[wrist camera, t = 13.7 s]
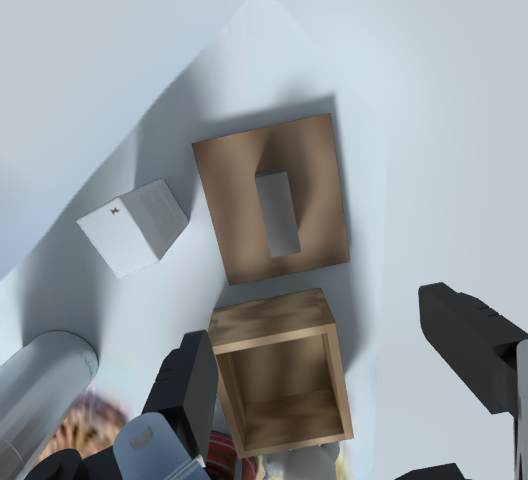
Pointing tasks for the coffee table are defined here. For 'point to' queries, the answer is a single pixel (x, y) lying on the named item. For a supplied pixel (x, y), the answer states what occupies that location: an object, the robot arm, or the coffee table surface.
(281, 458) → the round bodied animal figurine
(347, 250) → the lid
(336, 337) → the open wooden box
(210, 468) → the hourglass
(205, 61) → the coffee table surface
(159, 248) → the skincare box
